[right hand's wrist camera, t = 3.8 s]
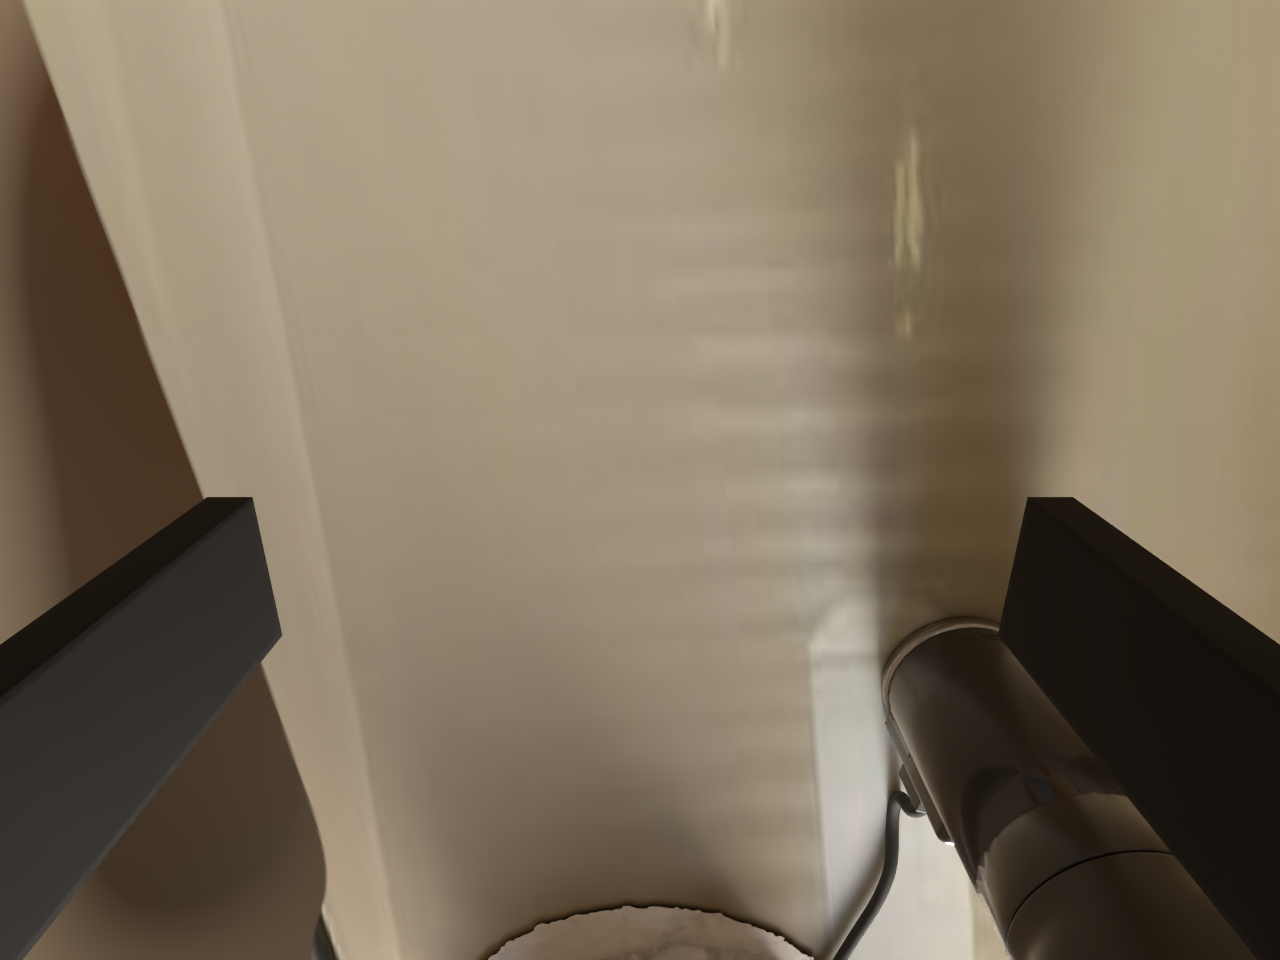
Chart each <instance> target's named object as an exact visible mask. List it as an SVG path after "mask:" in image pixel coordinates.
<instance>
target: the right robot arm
mask: <svg viewBox="0 0 1280 960" xmlns="http://www.w3.org/2000/svg"><path fill="white" fill-rule="evenodd" d="M281 636H282V632H281V627H280V623H279V618H278V614H277V609H276V604H275V600H274V595H273V590H272V586H271V581H270V577H269V572H268V567H267V563H266V558H265V553H264V549H263V544H262V540H261V535H260V530H259V526H258V521H257V516H256V512H255V507H254V502H253V498H252V497H207V498H205V499H204V500H203V501H201V502H200V503H198V504H197V505H196V506H194V507H193V508H191V509H190V510H189V511H187V512H186V513H184V514H183V515H182V516H180V517H179V518H177V519H176V520H175V521H173V522H172V523H170V524H169V525H168V526H166V527H165V528H163V529H162V530H160V531H159V532H158V533H156V534H155V535H153V536H152V537H151V538H149V539H148V540H147V541H145V542H144V543H142V544H141V545H139V546H138V547H137V548H135V549H134V550H132V551H131V552H130V553H128V554H127V555H125V556H124V557H123V558H121V559H120V560H118V561H117V562H116V563H114V564H113V565H111V566H110V567H109V568H107V569H106V570H104V571H103V572H102V573H100V574H99V575H97V576H96V577H95V578H93V579H92V580H90V581H89V582H88V583H86V584H85V585H83V586H82V587H81V588H79V589H78V590H76V591H75V592H74V593H72V594H71V595H69V596H68V597H67V598H65V599H64V600H62V601H61V602H60V603H58V604H57V605H55V606H54V607H53V608H51V609H50V610H48V611H47V612H46V613H44V614H43V615H41V616H40V617H38V618H37V619H36V620H34V621H33V622H31V623H30V624H29V625H27V626H26V627H24V628H23V629H22V630H20V631H19V632H17V633H16V634H15V635H13V636H12V637H10V638H9V639H8V640H6V641H5V642H3V643H2V644H1V645H0V960H23V959H24V957H25V956H26V955H27V954H28V952H29V951H30V950H31V949H32V947H33V946H34V945H35V943H36V942H37V941H38V940H39V939H40V937H41V936H42V935H43V934H44V932H45V931H46V930H47V929H48V927H49V926H50V925H51V924H52V922H53V921H54V920H55V919H56V917H57V916H58V915H59V914H60V912H61V911H62V910H63V909H64V907H65V906H66V905H67V904H68V902H69V901H70V900H71V899H72V897H73V896H74V895H75V893H76V892H77V891H78V890H79V889H80V887H81V886H82V885H83V884H84V882H85V881H86V880H87V879H88V877H89V876H90V875H91V874H92V872H93V871H94V870H95V869H96V867H97V866H98V865H99V864H100V862H101V861H102V860H103V859H104V857H105V856H106V855H107V854H108V852H109V851H110V850H111V849H112V847H113V846H114V845H115V844H116V842H117V841H118V840H119V839H120V837H121V836H122V835H123V834H124V832H125V831H126V830H127V829H128V827H129V826H130V825H131V824H132V822H133V821H134V820H135V819H136V817H137V816H138V815H139V814H140V812H141V811H142V810H143V809H144V807H145V806H146V805H147V804H148V802H149V801H150V800H151V799H152V797H153V796H154V795H155V794H156V792H157V791H158V790H159V789H160V787H161V786H162V785H163V784H164V782H165V781H166V780H167V779H168V777H169V776H170V775H171V774H172V772H173V771H174V770H175V769H176V767H177V766H178V765H179V764H180V762H181V761H182V760H183V759H184V757H185V756H186V755H187V754H188V752H189V751H190V750H191V749H192V747H193V746H194V745H195V744H196V742H197V741H198V740H199V739H200V737H201V736H202V735H203V734H204V732H205V731H206V730H207V729H208V727H209V726H210V725H211V724H212V722H213V721H214V720H215V719H216V717H217V716H218V715H219V714H220V712H221V711H222V710H223V709H224V707H225V706H226V705H227V704H228V703H229V701H230V700H231V699H232V698H233V696H234V695H235V694H236V693H237V691H238V690H239V689H240V687H241V686H242V685H243V684H244V683H245V681H246V680H247V679H248V678H249V676H250V675H251V674H252V673H253V671H254V670H255V669H256V668H257V666H258V665H259V664H260V663H261V661H262V660H263V659H264V658H265V656H266V655H267V654H268V653H269V651H270V650H271V649H272V648H273V646H274V645H275V644H276V643H277V641H278V640H279V639H280V638H281ZM998 636H999V638H1000V639H1001V640H1002V641H1003V643H1004V644H1005V645H1006V646H1007V648H1008V649H1009V650H1010V651H1011V653H1012V654H1013V655H1014V656H1015V658H1016V659H1017V660H1018V661H1019V663H1020V664H1021V665H1022V666H1023V668H1024V669H1025V670H1026V671H1027V673H1028V674H1029V675H1030V676H1031V678H1032V679H1033V680H1034V681H1035V683H1036V684H1037V685H1038V686H1039V688H1040V689H1041V690H1042V691H1043V693H1044V694H1045V695H1046V696H1047V698H1048V699H1049V700H1050V701H1051V703H1052V704H1053V705H1054V706H1055V708H1056V709H1057V710H1058V711H1059V712H1060V714H1061V715H1062V716H1063V717H1064V719H1065V720H1066V721H1067V722H1068V724H1069V725H1070V726H1071V727H1072V729H1073V730H1074V731H1075V732H1076V734H1077V735H1078V736H1079V737H1080V739H1081V740H1082V741H1083V742H1084V744H1085V745H1086V746H1087V747H1088V749H1089V750H1090V751H1091V752H1092V754H1093V755H1094V756H1095V757H1096V759H1097V760H1098V761H1099V762H1100V764H1101V765H1102V766H1103V767H1104V769H1105V770H1106V771H1107V772H1108V774H1109V775H1110V776H1111V777H1112V779H1113V780H1114V781H1115V782H1116V784H1117V785H1118V786H1119V787H1120V789H1121V790H1122V791H1123V792H1124V794H1125V795H1126V796H1127V797H1128V799H1129V800H1130V801H1131V802H1132V804H1133V805H1134V806H1135V807H1136V809H1137V810H1138V811H1139V812H1140V814H1141V815H1142V816H1143V817H1144V819H1145V820H1146V821H1147V822H1148V824H1149V825H1150V826H1151V827H1152V829H1153V830H1154V831H1155V832H1156V834H1157V835H1158V836H1159V837H1160V839H1161V840H1162V841H1163V842H1164V844H1165V845H1166V846H1167V847H1168V849H1169V850H1170V851H1171V852H1172V854H1173V855H1174V856H1175V857H1176V859H1177V860H1178V861H1179V862H1180V864H1181V865H1182V866H1183V867H1184V869H1185V870H1186V871H1187V872H1188V874H1189V875H1190V876H1191V877H1192V879H1193V880H1194V881H1195V882H1196V884H1197V885H1198V886H1199V887H1200V889H1201V890H1202V891H1203V892H1204V894H1205V895H1206V896H1207V897H1208V899H1209V900H1210V901H1211V902H1212V904H1213V905H1214V906H1215V907H1216V909H1217V910H1218V911H1219V912H1220V914H1221V915H1222V916H1223V917H1224V919H1225V920H1226V921H1227V922H1228V924H1229V925H1230V926H1231V927H1232V929H1233V930H1234V931H1235V932H1236V934H1237V935H1238V936H1239V937H1240V939H1241V940H1242V941H1243V942H1244V944H1245V945H1246V946H1247V947H1248V949H1249V950H1250V951H1251V952H1252V954H1253V955H1254V956H1255V957H1256V959H1257V960H1280V645H1279V644H1278V643H1277V642H1275V641H1274V640H1272V639H1271V638H1270V637H1268V636H1267V635H1265V634H1264V633H1263V632H1261V631H1260V630H1258V629H1257V628H1256V627H1254V626H1253V625H1251V624H1250V623H1249V622H1247V621H1246V620H1244V619H1243V618H1242V617H1240V616H1239V615H1237V614H1236V613H1235V612H1233V611H1232V610H1230V609H1229V608H1227V607H1226V606H1225V605H1223V604H1222V603H1220V602H1219V601H1218V600H1216V599H1215V598H1213V597H1212V596H1211V595H1209V594H1208V593H1206V592H1205V591H1204V590H1202V589H1201V588H1199V587H1198V586H1197V585H1195V584H1194V583H1192V582H1191V581H1190V580H1188V579H1187V578H1185V577H1184V576H1183V575H1181V574H1180V573H1178V572H1177V571H1176V570H1174V569H1173V568H1171V567H1170V566H1169V565H1167V564H1166V563H1164V562H1163V561H1162V560H1160V559H1159V558H1157V557H1156V556H1155V555H1153V554H1152V553H1150V552H1149V551H1148V550H1146V549H1145V548H1143V547H1142V546H1141V545H1139V544H1138V543H1136V542H1135V541H1134V540H1132V539H1131V538H1129V537H1128V536H1127V535H1125V534H1124V533H1122V532H1121V531H1120V530H1118V529H1117V528H1115V527H1114V526H1113V525H1111V524H1110V523H1108V522H1107V521H1105V520H1104V519H1103V518H1101V517H1100V516H1098V515H1097V514H1096V513H1094V512H1093V511H1091V510H1090V509H1089V508H1087V507H1086V506H1084V505H1083V504H1082V503H1080V502H1079V501H1077V500H1076V499H1075V498H1073V497H1028V498H1027V502H1026V507H1025V512H1024V516H1023V521H1022V526H1021V530H1020V535H1019V539H1018V544H1017V549H1016V553H1015V558H1014V563H1013V567H1012V572H1011V577H1010V581H1009V586H1008V590H1007V595H1006V600H1005V604H1004V609H1003V614H1002V618H1001V623H1000V627H999V632H998Z"/></svg>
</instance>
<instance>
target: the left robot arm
mask: <svg viewBox="0 0 1280 960" xmlns="http://www.w3.org/2000/svg"><path fill="white" fill-rule="evenodd" d="M999 627H1000V624H998V623H995V622H992V621H989V620H986V619H981V618H972V617H961V618H952V619H947V620H943V621H939V622H936V623H933V624H931V625H929V626H926V627H924V628H922V629H920V630H919V631H917V632H916V633H914V634H912V635H911V636H910V637H908V638H907V639H906V640H905V641H904V642H903V643H902V644H901V645H900V646H899V647H898V648H897V649H896V650H895V652H894V653H893V654H892V656H891V657H890V659H889V661H888V663H887V665H886V667H885V670H884V673H883V677H882V687H881V689H882V696H883V700H884V703H885V706H886V708H887V710H888V712H889V714H888V717H887V719H886V722H885V724H886V727H887V729H888V731H889V733H890V735H891V737H892V740H893V742H894V744H895V746H896V748H897V751H898V753H899V755H900V757H901V759H902V761H903V765H902V767H901V769H900V771H899V775H900V777H901V779H902V782H903V784H904V786H905V788H906V791H907V793H908V795H909V796H908V795H907V794H906V793H904V792H901V791H899V792H896V793H894V794H893V795H892V797H891V799H890V801H889V803H888V808H887V820H886V848H885V861H884V867H883V871H882V874H881V877H880V880H879V883H878V885H877V887H876V889H875V892H874V894H873V896H872V898H871V899H870V901H869V903H868V905H867V906H866V908H865V910H864V911H863V913H862V914H861V916H860V917H859V919H858V920H857V922H856V923H855V925H854V926H853V928H852V930H851V931H850V933H849V934H848V936H847V937H846V939H845V941H844V942H843V944H842V946H841V947H840V949H839V950H838V952H837V954H836V955H835V957H834V958H833V960H848V958H849V957H850V955H851V954H852V952H853V950H854V949H855V947H856V946H857V944H858V942H859V941H860V939H861V938H862V936H863V935H864V933H865V932H866V930H867V929H868V927H869V926H870V924H871V923H872V921H873V920H874V918H875V917H876V915H877V913H878V912H879V910H880V908H881V907H882V905H883V903H884V901H885V899H886V897H887V895H888V893H889V891H890V888H891V886H892V883H893V881H894V877H895V874H896V869H897V863H898V850H899V815H900V809H901V808H902V810H903V811H904V812H905V813H906V814H907V815H908V816H911V817H914V818H919V817H922V816H925V815H927V816H928V818H929V820H930V823H931V825H932V827H933V829H934V831H935V834H936V835H937V837H938V838H939V839H940V840H941V841H942V842H944V843H946V844H950V845H954V846H955V848H956V850H957V852H958V855H959V857H960V859H961V861H962V863H963V865H964V867H965V869H966V871H967V873H968V875H969V878H970V880H971V882H972V884H973V886H974V888H975V890H976V892H977V894H978V896H979V898H980V900H981V902H982V904H983V906H984V908H985V910H986V912H987V915H988V917H989V919H990V921H991V923H992V925H993V927H994V929H995V931H996V933H997V935H998V938H999V940H1000V942H1001V944H1002V946H1003V948H1004V950H1005V952H1006V954H1007V956H1008V958H1009V960H1257V959H1256V957H1255V956H1254V955H1253V954H1252V952H1251V951H1250V950H1249V949H1248V947H1247V946H1246V945H1245V944H1244V942H1243V941H1242V940H1241V939H1240V937H1239V936H1238V935H1237V934H1236V932H1235V931H1234V930H1233V929H1232V927H1231V926H1230V925H1229V924H1228V922H1227V921H1226V920H1225V919H1224V917H1223V916H1222V915H1221V914H1220V912H1219V911H1218V910H1217V909H1216V907H1215V906H1214V905H1213V904H1212V902H1211V901H1210V900H1209V899H1208V897H1207V896H1206V895H1205V894H1204V892H1203V891H1202V890H1201V889H1200V887H1199V886H1198V885H1197V884H1196V882H1195V881H1194V880H1193V879H1192V877H1191V876H1190V875H1189V874H1188V872H1187V871H1186V870H1185V869H1184V867H1183V866H1182V865H1181V864H1180V862H1179V861H1178V860H1177V859H1176V857H1175V856H1174V855H1173V854H1172V852H1171V851H1170V850H1169V849H1168V847H1167V846H1166V845H1165V844H1164V842H1163V841H1162V840H1161V839H1160V837H1159V836H1158V835H1157V834H1156V832H1155V831H1154V830H1153V829H1152V827H1151V826H1150V825H1149V824H1148V822H1147V821H1146V820H1145V819H1144V817H1143V816H1142V815H1141V814H1140V812H1139V811H1138V810H1137V809H1136V807H1135V806H1134V805H1133V804H1132V802H1131V801H1130V800H1129V799H1128V797H1127V796H1126V795H1125V794H1124V792H1123V791H1122V790H1121V789H1120V787H1119V786H1118V785H1117V784H1116V782H1115V781H1114V780H1113V779H1112V777H1111V776H1110V775H1109V774H1108V772H1107V771H1106V770H1105V769H1104V767H1103V766H1102V765H1101V764H1100V762H1099V761H1098V760H1097V759H1096V757H1095V756H1094V755H1093V754H1092V752H1091V751H1090V750H1089V749H1088V747H1087V746H1086V745H1085V744H1084V742H1083V741H1082V740H1081V739H1080V737H1079V736H1078V735H1077V734H1076V732H1075V731H1074V730H1073V729H1072V727H1071V726H1070V725H1069V724H1068V722H1067V721H1066V720H1065V719H1064V717H1063V716H1062V715H1061V714H1060V712H1059V711H1058V710H1057V709H1056V708H1055V706H1054V705H1053V704H1052V703H1051V701H1050V700H1049V699H1048V698H1047V696H1046V695H1045V694H1044V693H1043V691H1042V690H1041V689H1040V688H1039V686H1038V685H1037V684H1036V683H1035V681H1034V680H1033V679H1032V678H1031V676H1030V675H1029V674H1028V673H1027V671H1026V670H1025V669H1024V668H1023V666H1022V665H1021V664H1020V663H1019V661H1018V660H1017V659H1016V658H1015V656H1014V655H1013V654H1012V653H1011V651H1010V650H1009V649H1008V648H1007V646H1006V645H1005V644H1004V643H1003V641H1002V640H1001V639H1000V638H999V636H998V632H999Z"/></svg>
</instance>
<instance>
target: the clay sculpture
mask: <svg viewBox="0 0 1280 960" xmlns="http://www.w3.org/2000/svg"><path fill="white" fill-rule="evenodd" d="M783 941H784V938H783V937H782V936H776V937H775V935H774V934H773V933H769V932H766V931H765V930H762V929H759V928H757V927H752V925H750V924H748V923H740V922H737V921H734V920H732V919H730V918H728V917H725V916H723V915H722V914H721V913H703V912H702V911H700V910H696V911H691V910H689V909H686V908H685V909H683V910H681V909H680V908H678V907H675V908H674V909H670V908H665V907H650V906H649V907H648V909H638V908H634V907H631V906H623V907H622V908H621V909H615V910H613V911H611V910H606V911H599V912H596V913H591V912H590V913H589V914H587V915H584V914H583V915H579V914H577V915H574V916H571V917H569V918H568V919H566V920H565V921H564V920H559V921H557V922H551V923H550V924H544V923H541V924H539V925H537V926H536V927H535V928H534V931H532V932H530V933H529V934H525V935H523V936H521V937H520V938H515V940H514V941H512V940H510V941H508V942H506V944H505V946H503V947H500V948H501V950H500V951H499V952H498V953H497V954H495V955H492V956H491V957H490V958H489V959H488V960H814V957H808V956H807V955H805V954H801V953H800V951H799V950H797V949H796V948H794V947H793V945H790V944H788V942H787V941H785V942H783Z"/></svg>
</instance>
